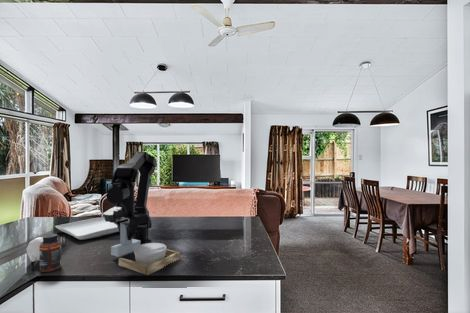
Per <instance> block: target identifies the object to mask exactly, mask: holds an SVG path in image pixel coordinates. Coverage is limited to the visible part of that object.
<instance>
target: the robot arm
mask: <svg viewBox="0 0 470 313" xmlns="http://www.w3.org/2000/svg"><path fill="white" fill-rule="evenodd" d="M157 164H158V161H157V159H156V158H155V156H154V155H151V154H149V152H148V151H136V152H135V153H134V155H133V156H132V157H131V158H130V159H129V160H128V162H125V163H122V164H120V165H118V166H117V167H116V168H115V170H114V173H113V176H112V179H111V181H110V182H111V183H110V185H112V186H111V187H110V188H109V189H108V190H107V192H106V196H105V197H106V199H107V201H108V202H109V203H111V204H114V206H113V207H111V208H109V209H107V210H106V211H104V212H103V213H102V217H104V218H105V221H106V222H107V221H108V222H110V223H114V224H116V225H117V227H118V229H119V232H120V223H122V222H126V221H128V223H125V224H124V225H125V226H126V227H127V237H128V240H131V239H136V240H140V241H141V245H143V244H146V243H147V242H148V243H149V242H150V241H152V239H151V238H149V230H150V229H152V226H153V222H152V221H153V220H152V218H151V216H150V211H149V209H148V207H147V204H148V199H149V198H148V196H149V188H150V184H151V183H150V182H151V177H152V175H153V174H154V173H155V172H156V167H157ZM138 177H139V179H138ZM137 179H138V184H137V193H136V198H135V186H136V182H137Z"/></svg>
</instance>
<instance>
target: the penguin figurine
mask: <svg viewBox="0 0 470 313" xmlns="http://www.w3.org/2000/svg"><path fill="white" fill-rule="evenodd" d="M42 242H43V236H41V237H36V238H34V239H32V240H31V241H29V243H28V245H27V247H26V248H25V250H26V254H27V255H28V258H29V260H30V261H31V262H35V261H36V260H37V261H39V262H40V252H39V250H40V248H39V247H40V244H41V243H42Z"/></svg>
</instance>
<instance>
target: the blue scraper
mask: <svg viewBox="0 0 470 313" xmlns="http://www.w3.org/2000/svg"><path fill="white" fill-rule="evenodd" d="M125 223H128V221H126V222H122V223H120V231H119V234H120V235H119V237H120V239H119V243H118V244H115V245H113V246H112V245H111V246H110V254H111V256H114V257H117V258H120V257H122V256H125V255H127V254H129V253H132V252H134V249H135V248H136V247H137V246H140V245H142V244H141V241H140V240H136V239H131V240H128V237H127V227H126V226H125V225H124V224H125Z"/></svg>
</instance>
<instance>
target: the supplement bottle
mask: <svg viewBox="0 0 470 313" xmlns="http://www.w3.org/2000/svg"><path fill="white" fill-rule="evenodd" d="M42 237H43V242H42V243H41V244H40V247H39V248H40V250H39V252H40V261H39V271H40V272H41V273H51V272H54V271H57V270H58V269H60V268H61V266H62V242H61V240H59V239H58V234H57V233H51V234H50V233H49V234H46V235H45V234H44V235H43V236H42Z"/></svg>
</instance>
